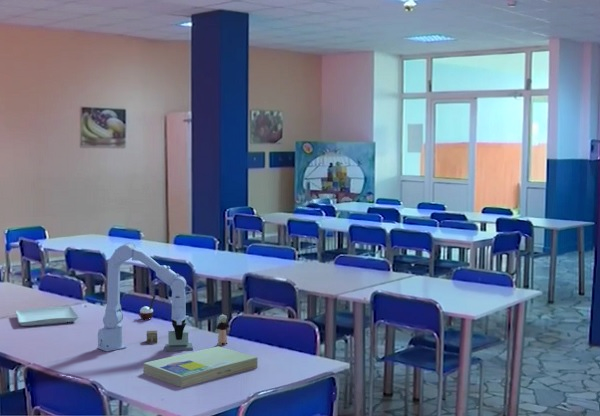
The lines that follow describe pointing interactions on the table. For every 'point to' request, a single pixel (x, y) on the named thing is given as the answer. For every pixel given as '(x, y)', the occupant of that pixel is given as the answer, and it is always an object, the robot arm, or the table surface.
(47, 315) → the square plate
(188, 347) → the rubber mat
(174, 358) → the puzzle box
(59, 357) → the table surface
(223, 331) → the grandmother figurine
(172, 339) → the tall sage green block
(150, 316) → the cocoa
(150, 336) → the plain olive brown cube
